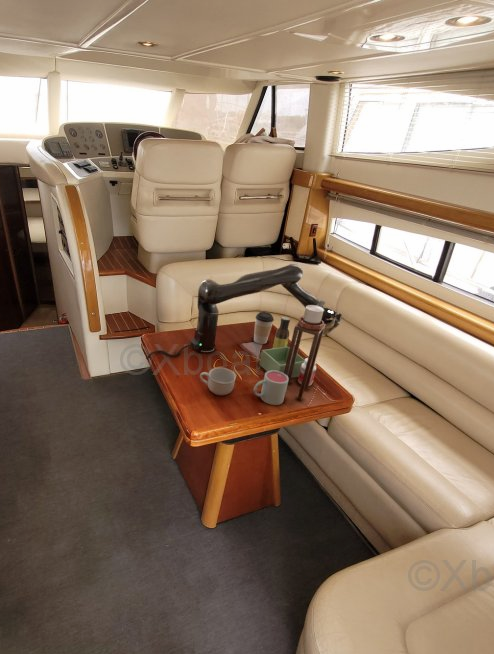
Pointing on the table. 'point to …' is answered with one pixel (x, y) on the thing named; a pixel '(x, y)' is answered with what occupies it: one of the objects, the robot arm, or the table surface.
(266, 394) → the mug
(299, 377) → the pill bottle
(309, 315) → the small saucepan
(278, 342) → the sauce bottle
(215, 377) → the teacup
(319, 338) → the stand
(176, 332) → the table surface
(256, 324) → the coffee cup
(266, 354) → the bin
